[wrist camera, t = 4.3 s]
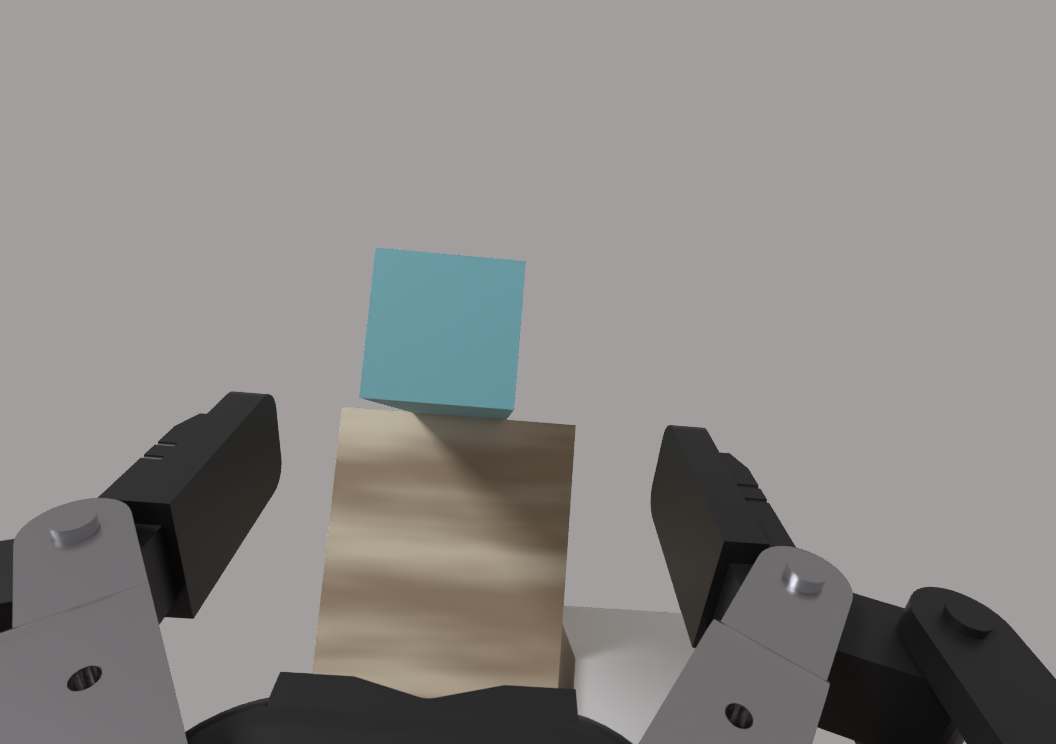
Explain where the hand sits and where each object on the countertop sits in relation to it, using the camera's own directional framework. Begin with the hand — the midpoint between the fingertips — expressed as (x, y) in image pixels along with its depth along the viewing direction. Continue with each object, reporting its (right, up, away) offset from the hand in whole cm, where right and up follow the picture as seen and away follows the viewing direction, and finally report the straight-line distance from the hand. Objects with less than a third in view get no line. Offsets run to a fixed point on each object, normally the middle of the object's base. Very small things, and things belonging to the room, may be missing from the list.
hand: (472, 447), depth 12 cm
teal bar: (-2, -1, +16) cm, 16 cm away
